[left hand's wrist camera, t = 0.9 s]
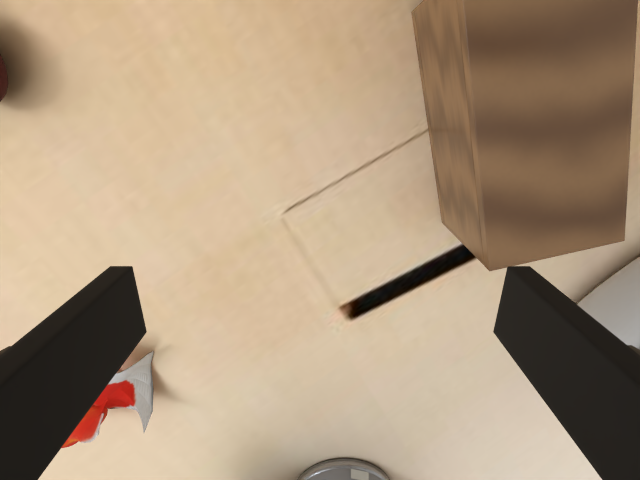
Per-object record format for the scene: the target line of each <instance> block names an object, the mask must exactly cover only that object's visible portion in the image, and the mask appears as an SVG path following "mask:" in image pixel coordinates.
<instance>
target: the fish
mask: <svg viewBox="0 0 640 480" xmlns="http://www.w3.org/2000/svg"><path fill="white" fill-rule="evenodd" d="M153 352H154V351H152V352H150V353H149V354H147V355H146V356H145V357H143V358H142V359H141V360H140V361H138V362H137V363H136V364H134V365H133V366H131V367H129V368H127V369H126V370H124V371H122V372H120V373H116V374H115V375H114V377H113V378H112V380H111V381H110V382H109V384H108V385H107V386H106V388H105V389H104V390H103V392H102V393H101V394H100V396H99V397H98V398H97V400H96V401H95V403H94V404H93V405H92V407H91V408H90V409H89V411H88V412H87V413H86V415H85V416H84V417H83V419H82V420H81V422H80V423H79V424H78V426H77V427H76V428H75V430H74V431H73V432H72V434H71V435H70V436H69V438H68V439H67V440H66V442H65V443H64V445H63V446H62V447H61V448H65V447H69V446H72V445H74V444H75V443H77V442H78V441H80V442H82V443H87V442H91V441H93V440H94V439H95V438H96V437H97V436H98V434H99V427H100V424H101V423H102V422H103V421H104V419H105V417H106V416H107V411H108V410H107V408H108V409H113V408H129V409H134V410H136V411H137V412H138V413H139V415H140V418H141V420H142V424H143V429H144V432H145V429H146V427H147V424H148V422H149V419H150V416H151V414H152V409H153V381H152V370H151V362H152V358H153Z"/></svg>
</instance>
